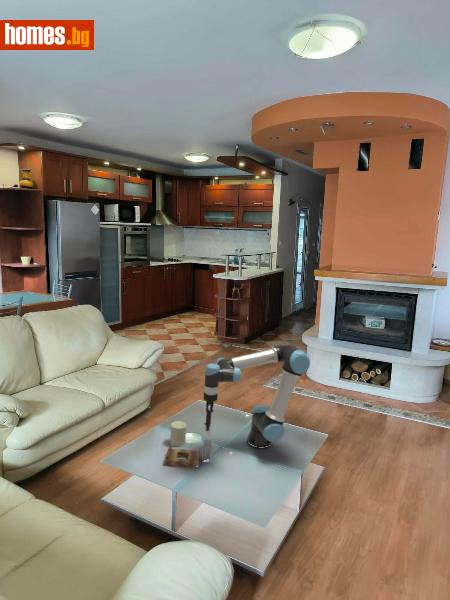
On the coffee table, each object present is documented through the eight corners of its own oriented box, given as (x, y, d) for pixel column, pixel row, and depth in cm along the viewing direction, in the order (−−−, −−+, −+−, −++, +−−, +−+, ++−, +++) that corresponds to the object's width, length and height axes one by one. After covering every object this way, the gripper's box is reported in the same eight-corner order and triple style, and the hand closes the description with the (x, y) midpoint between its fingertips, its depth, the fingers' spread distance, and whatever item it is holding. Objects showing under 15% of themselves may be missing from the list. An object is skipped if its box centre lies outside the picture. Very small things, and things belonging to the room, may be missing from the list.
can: (182, 448, 237) (183, 428, 235) (167, 445, 239) (168, 426, 237) (187, 440, 246) (188, 421, 244) (172, 437, 248) (173, 419, 246)
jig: (199, 455, 230) (200, 447, 230) (197, 468, 219) (198, 459, 218) (167, 453, 231) (168, 445, 230) (164, 465, 219) (164, 456, 218)
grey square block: (210, 458, 229) (211, 440, 227) (209, 462, 224) (211, 444, 222) (202, 457, 229) (203, 439, 227) (201, 462, 224) (203, 443, 222)
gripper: (205, 383, 232) (203, 418, 236) (201, 401, 207) (199, 440, 211) (218, 384, 232) (216, 419, 235) (216, 403, 207) (213, 441, 211)
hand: (208, 429), depth 223 cm, fingers open, 13 cm apart
